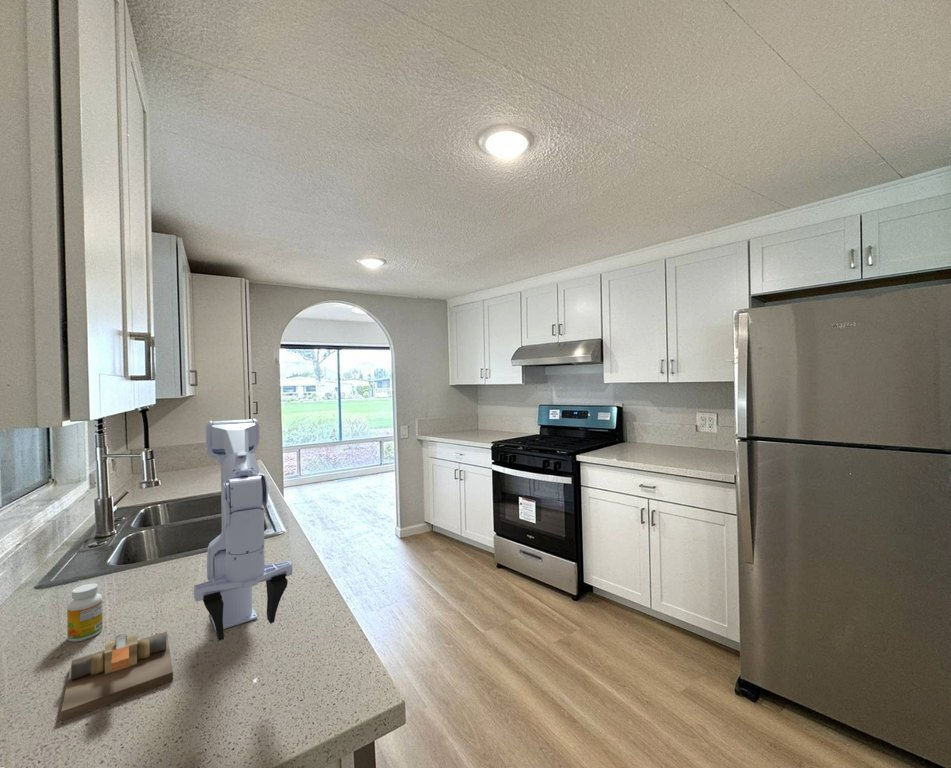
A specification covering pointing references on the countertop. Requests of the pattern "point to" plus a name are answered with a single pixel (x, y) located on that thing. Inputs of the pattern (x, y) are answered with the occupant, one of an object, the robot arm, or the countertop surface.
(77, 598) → the supplement bottle
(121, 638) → the valve lever
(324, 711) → the countertop surface
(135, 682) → the valve base
